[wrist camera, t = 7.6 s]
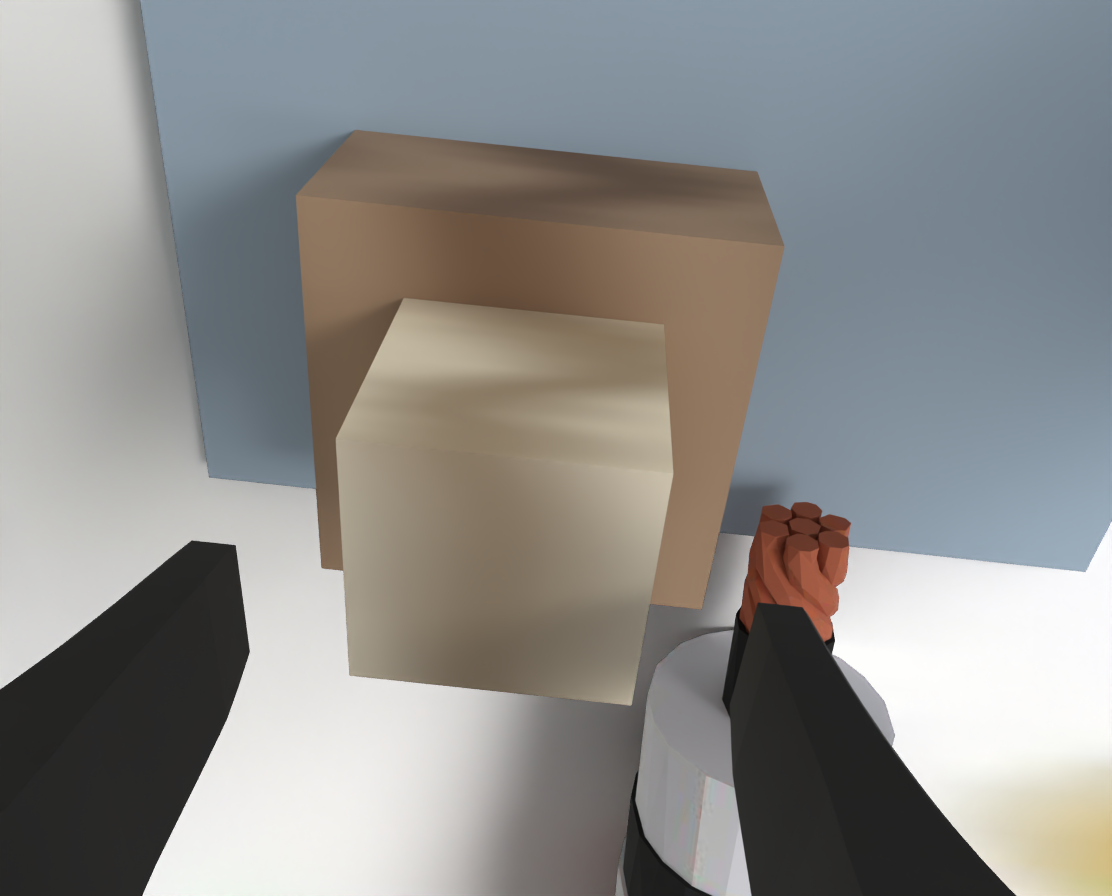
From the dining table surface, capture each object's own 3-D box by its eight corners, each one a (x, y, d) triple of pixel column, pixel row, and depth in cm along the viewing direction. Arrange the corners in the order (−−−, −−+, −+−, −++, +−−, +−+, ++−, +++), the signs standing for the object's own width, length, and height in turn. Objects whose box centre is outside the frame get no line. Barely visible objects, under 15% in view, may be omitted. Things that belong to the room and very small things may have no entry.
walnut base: (757, 171, 19) (784, 245, 15) (691, 496, 23) (701, 609, 20) (355, 129, 19) (295, 194, 15) (366, 461, 23) (321, 568, 20)
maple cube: (663, 324, 16) (673, 473, 13) (631, 529, 19) (631, 705, 15) (403, 297, 16) (335, 438, 13) (405, 505, 19) (349, 675, 15)
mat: (1635, -557, 13) (1676, -573, 13) (1075, 556, 24) (1085, 571, 24) (56, -709, 13) (33, -730, 13) (218, 463, 24) (209, 477, 24)
